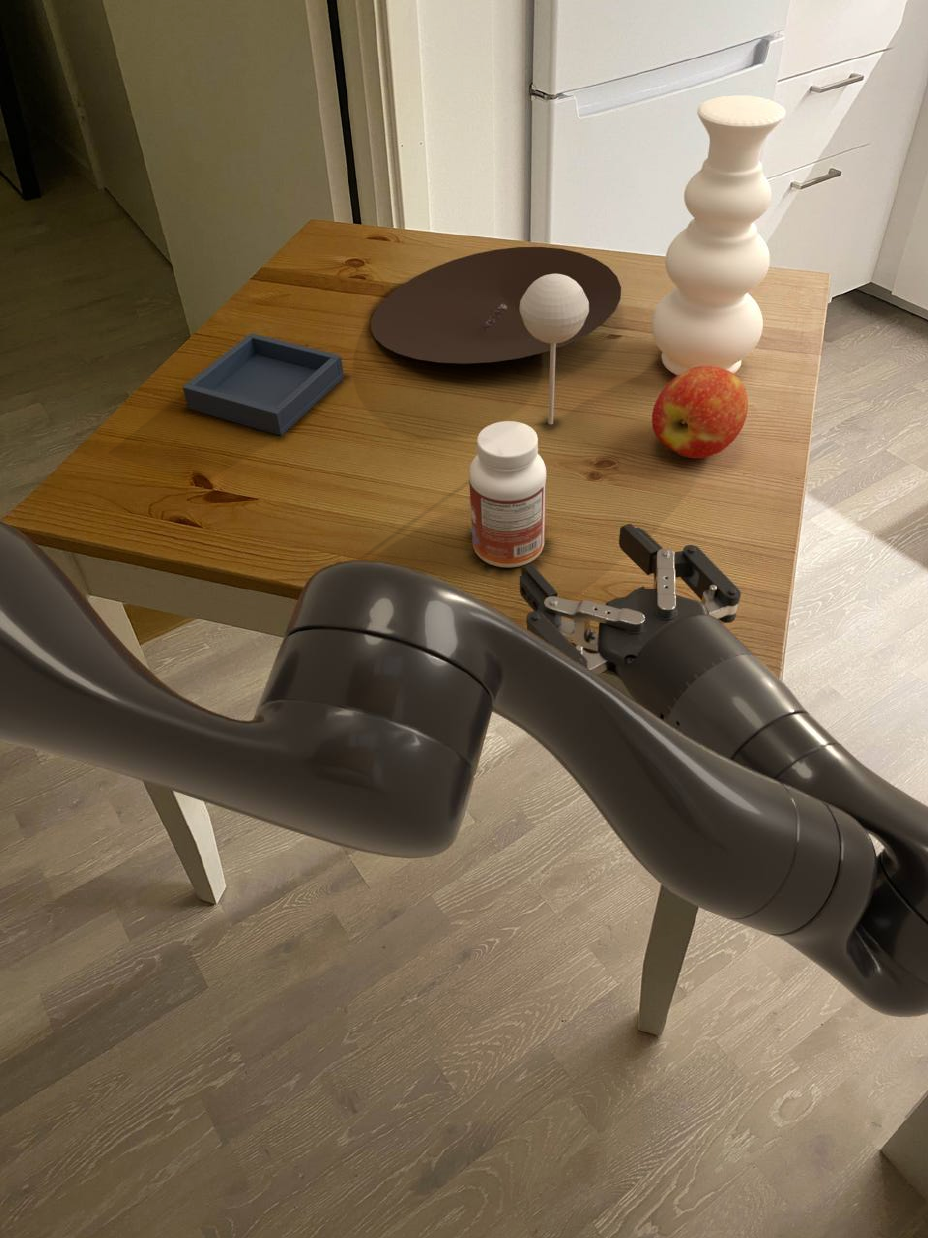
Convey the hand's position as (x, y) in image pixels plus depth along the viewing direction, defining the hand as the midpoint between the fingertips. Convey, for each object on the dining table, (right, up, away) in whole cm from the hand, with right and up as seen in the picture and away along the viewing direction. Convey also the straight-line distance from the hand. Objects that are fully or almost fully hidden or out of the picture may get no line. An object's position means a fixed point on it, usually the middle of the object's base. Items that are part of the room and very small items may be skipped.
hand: (574, 553), depth 69 cm
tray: (-29, +19, +29) cm, 45 cm away
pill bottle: (-4, +1, +11) cm, 12 cm away
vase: (+17, +22, +30) cm, 40 cm away
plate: (-5, +29, +38) cm, 48 cm away
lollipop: (0, +14, +23) cm, 27 cm away
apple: (+14, +11, +20) cm, 27 cm away
